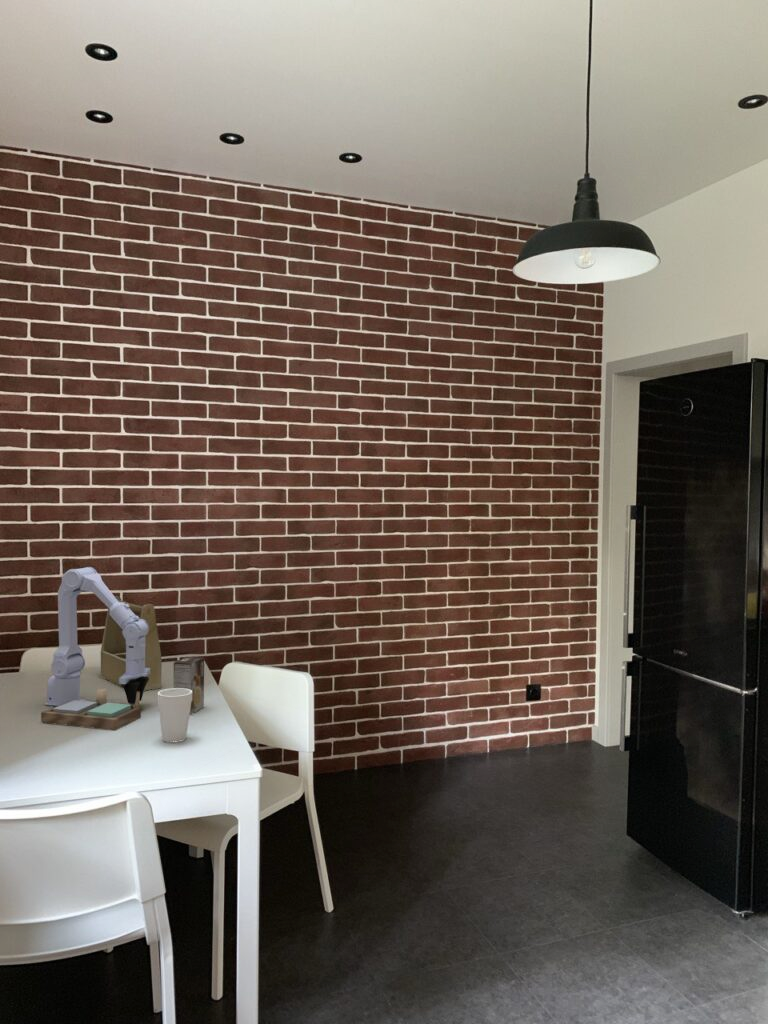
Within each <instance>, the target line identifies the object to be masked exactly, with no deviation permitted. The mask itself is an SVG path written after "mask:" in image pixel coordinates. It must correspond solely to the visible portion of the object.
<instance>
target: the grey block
mask: <svg viewBox="0 0 768 1024" xmlns="http://www.w3.org/2000/svg"><path fill="white" fill-rule="evenodd" d="M107 691H108V689H107V688H98V689H96V697H95V698H96V699H95V700H96V701H87V700H86V701H77V700H73V701H71V702H68V703H66V704H64V705H61V706H59V707H56V706H55V707H56V708H54V707H53V708H54V709H53V712H59V713H69V714H81V713H83V712H86V711H88V710H90V709H93V708H95V707H97V706H100V705H102V704H106V703H107V693H108V692H107Z"/></svg>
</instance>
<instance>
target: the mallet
mask: <svg viewBox="0 0 768 1024" xmlns="http://www.w3.org/2000/svg"><path fill="white" fill-rule="evenodd" d="M140 702H141V701H140V692H139V691H137V694H136V701H135V704H129V703H127V704H126V703H125V704H124V703H114V702H106V704H103V705H101V706H99V707H96V708H94V709H92V710H89V711H87V715H89V716H100V717H110V718H115V717H117V716H119V715H121V714H123V713H125V712H127V711H129V710H132V709H134V708H136V707H140Z"/></svg>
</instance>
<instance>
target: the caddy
mask: <svg viewBox="0 0 768 1024" xmlns="http://www.w3.org/2000/svg"><path fill="white" fill-rule="evenodd" d="M114 597H115V598H116V599H117V600H118V602H124V603H125V604H128V605H129V606H130V607H129V608H130V610H131V611H132V612H133V613H134V612H135V613H137V614H140V615H139V616H140V617H139V619H143V620H145V621H146V622H147V624H148V626H149V632H148V634H147V635H146V636H145V668H150V674H149V675H147V676H145V677H149V681H148V682H147V684H146V686H145V689H144V692H145V690H147V691H151V689H152V690H157V689H158V688H159V689H161V688H162V668H163V667H162V664H163V663H162V661H163V660H162V651H161V646H160V640H159V639H160V638H159V633H158V632H159V631H158V623H157V618H156V611H155V606H154V605H153V604H151V603H149V604H147V603H146V604H143V605H138V604H134V603H130V602H128V601H124V600H122V599H121V597H120V596H118V595H114ZM109 612H110V609H109V608H108V607H107V613H106V618H105V625H104V630H103V636H102V642H101V647H100V677H101V676H102V677H104V678H105V679H104V678H103V679H104V680H106V679H107V680H106V681H108V680H109V681H108V682H110V681H111V682H110V683H112V682H114V683H113V684H115V683H116V684H115V685H117V686H119V687H121V686H122V685H121V684H119V678H120V677H122V676H123V675H124V674H125V673H126V639H125V638H124V636H123V633H122V631H123V629H122V628H121V627H120V626H119V625H118V624H117V623H116V621H115V620H114V619H113V618H112V617H111V616H110V614H109ZM102 677H101V678H102Z"/></svg>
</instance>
